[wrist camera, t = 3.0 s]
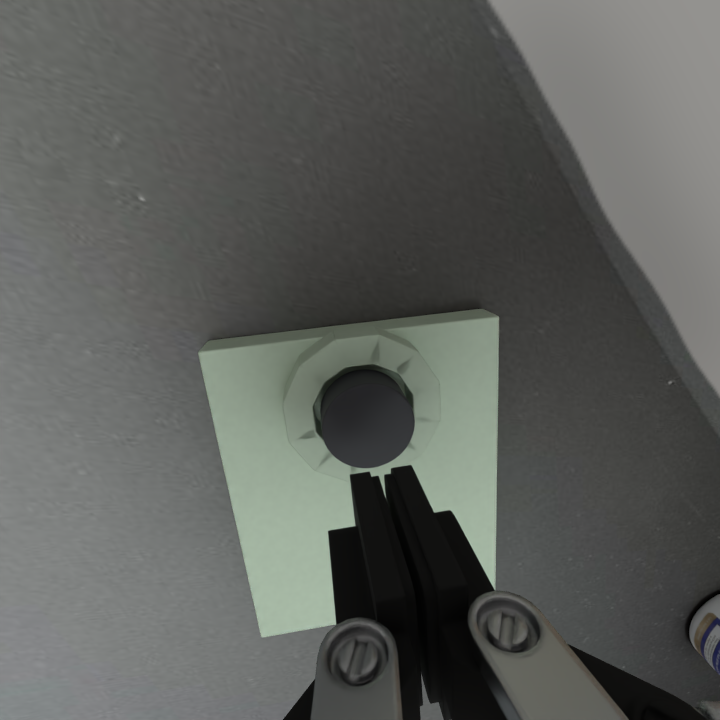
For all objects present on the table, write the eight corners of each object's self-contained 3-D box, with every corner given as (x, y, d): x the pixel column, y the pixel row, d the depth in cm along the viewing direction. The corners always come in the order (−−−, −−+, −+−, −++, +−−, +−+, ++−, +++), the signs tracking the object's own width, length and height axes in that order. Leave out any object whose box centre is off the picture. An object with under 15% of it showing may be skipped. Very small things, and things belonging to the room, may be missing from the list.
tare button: (315, 374, 17) (316, 390, 15) (402, 363, 17) (412, 377, 15) (325, 452, 18) (327, 475, 16) (407, 440, 18) (417, 462, 16)
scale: (206, 335, 19) (184, 357, 15) (482, 302, 20) (517, 317, 17) (264, 607, 24) (257, 669, 20) (482, 569, 25) (509, 621, 22)
